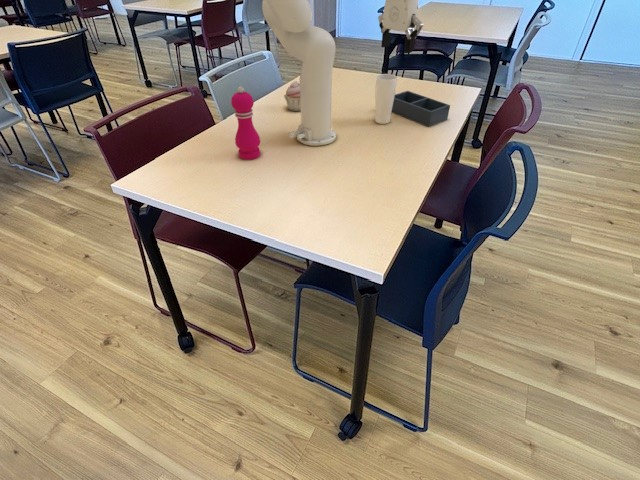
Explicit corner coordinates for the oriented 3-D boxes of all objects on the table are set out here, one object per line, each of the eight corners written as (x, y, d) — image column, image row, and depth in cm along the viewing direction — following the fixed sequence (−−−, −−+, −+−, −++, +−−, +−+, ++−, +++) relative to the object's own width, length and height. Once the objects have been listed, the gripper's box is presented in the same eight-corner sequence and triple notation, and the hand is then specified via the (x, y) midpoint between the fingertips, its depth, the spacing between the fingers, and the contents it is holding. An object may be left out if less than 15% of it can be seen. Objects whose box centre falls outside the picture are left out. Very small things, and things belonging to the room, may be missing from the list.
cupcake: (308, 113, 139) (308, 85, 133) (283, 113, 139) (281, 85, 133) (310, 103, 146) (309, 76, 140) (285, 103, 146) (284, 76, 140)
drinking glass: (391, 118, 135) (396, 73, 125) (392, 125, 130) (398, 80, 120) (372, 117, 135) (376, 73, 126) (372, 125, 130) (376, 79, 121)
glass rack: (428, 126, 129) (431, 112, 125) (387, 110, 140) (388, 96, 137) (447, 119, 133) (450, 105, 130) (405, 104, 145) (407, 90, 142)
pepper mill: (238, 162, 110) (227, 92, 97) (236, 151, 116) (225, 83, 103) (263, 158, 112) (255, 89, 99) (259, 148, 117) (252, 81, 104)
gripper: (373, -17, 113) (368, 46, 124) (418, -11, 103) (409, 57, 114) (391, -18, 117) (385, 43, 128) (436, -13, 106) (425, 53, 117)
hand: (396, 49), depth 121 cm, fingers open, 9 cm apart
